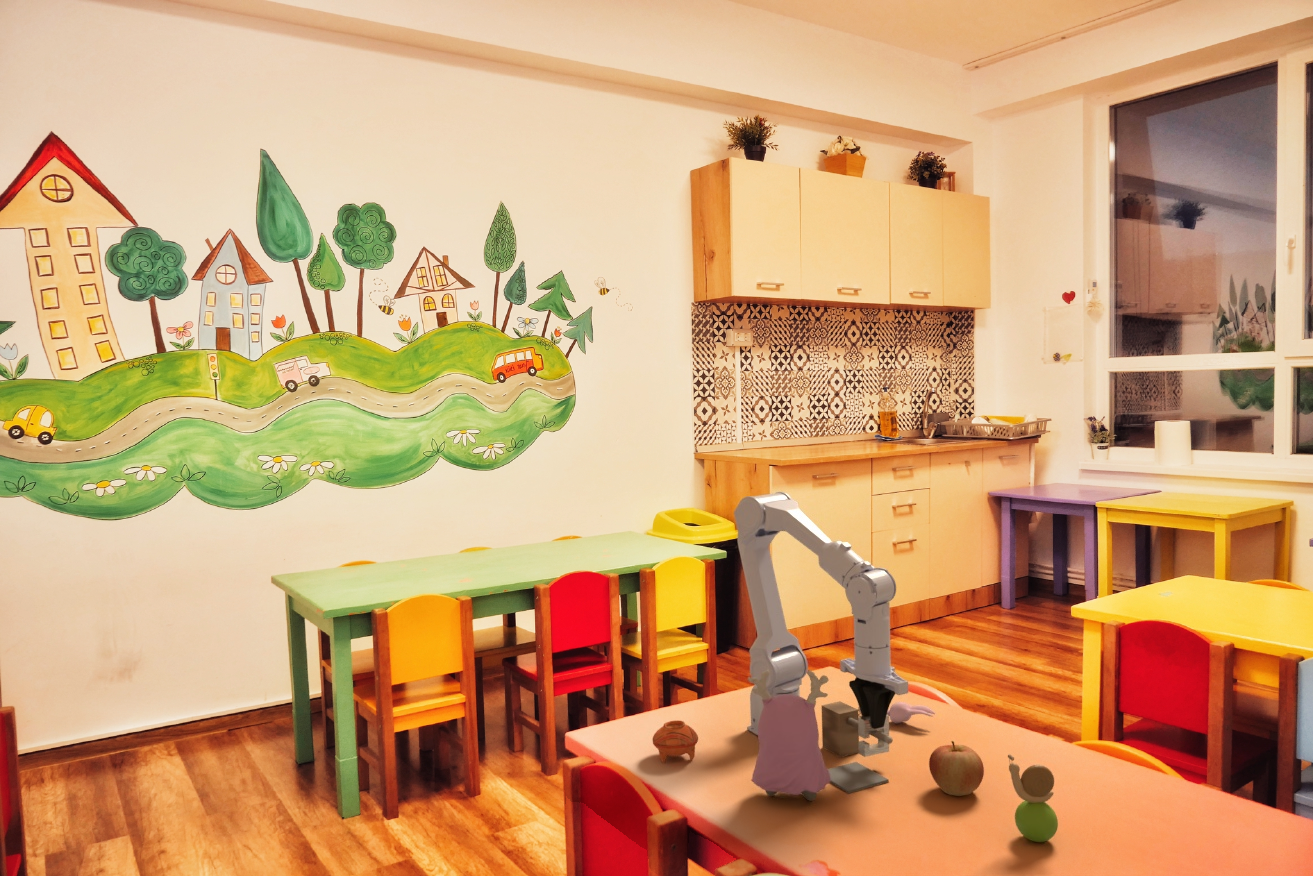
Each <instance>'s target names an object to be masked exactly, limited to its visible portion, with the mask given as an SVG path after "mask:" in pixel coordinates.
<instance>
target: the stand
mask: <svg viewBox="0 0 1313 876" xmlns="http://www.w3.org/2000/svg"><path fill="white" fill-rule="evenodd" d="M858 717H859V711H858V708H857V707H856V708H855V707H853V706H851V705H849V704H847V703H844V702H842V701H835V702H831V703H826V704H822V705H821V734H822V737H821V739H822V749H825V750H826V749H827V750H826V751H828V752H830V753H831V754H833V755H835V756H837V757H839V758H844V757H848V756H852V755H855V754H859V751H858V742H859V741H860V736H858ZM870 736H871V737H874V738H876V739H877V740H878V739H880V740H882V741H884V742H886V743H888V744H889V745H890V744H892V743H893V737H892V736H890V734H889V735H886V734H884V733H882V732H880V731H878V730H875V731H870Z"/></svg>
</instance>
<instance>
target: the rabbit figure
mask: <svg viewBox="0 0 1313 876" xmlns="http://www.w3.org/2000/svg"><path fill="white" fill-rule="evenodd" d="M857 709H858V713H859V714H860V715H861V716H862V714H861V711H860V707H859V706H858V707H857ZM935 714H936V712H935V711H934V710H933V709H931V708H930V707H928V706H926V705H922V704H918V705H917V704H916V705H911V704H910V703H906V702H904V701H897V702H894V703H892V704H891V706H890V707H889V708H888V711H887V715H889V721H891V722H892V723H894V724H896V725H897V724H902V723H903V722H904V723H905V722H908V721H909V720H910V719H911V718H912V716H913V715H924V716H928V717H934V715H935Z"/></svg>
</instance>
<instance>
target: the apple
mask: <svg viewBox="0 0 1313 876" xmlns="http://www.w3.org/2000/svg"><path fill="white" fill-rule="evenodd" d="M982 760H983V759H982V758H981V756H979V754H978V753H977V752H976V751H975V750H974V749H973V748H971V747H969V746H967V745H963V744H955V741H953V740H951V744H946V745H940V746H938V747H937V748H935V749H934V750H933V751H932V753H931V754H930V757H929V760H928V768H929V771H930V774H931V777H932V779H933V780H934V782H935V783H936V786H938V787H939V788H940V789H941V791H943V792H944V793H945V794H948V795H950V796H956V797H960V796H967V795H970V794H972V793H973V792H975V791H976V790H978V788H979V787H980V785H981V783H982V782H983V778H984V775H985V767H984V764H983V763H984V762H983V761H982Z"/></svg>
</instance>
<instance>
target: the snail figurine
mask: <svg viewBox="0 0 1313 876" xmlns="http://www.w3.org/2000/svg"><path fill="white" fill-rule="evenodd" d="M1007 758H1008V759H1009V765H1008V771H1009V773H1010V776H1011V782H1012V785H1013V789H1014V791H1015V792H1016V794H1017V796H1018V797H1019V798H1020V799H1021V800H1023V801H1022V802H1021V803H1020V804H1019V805H1017V808H1016V810H1015V814H1014V822H1015V826H1016V828H1017V830H1018V831H1019V832H1020V834H1021V836H1024V837H1025V838H1026V839H1027V840H1029V841H1032V842H1036V843H1044V842H1047V841H1049V840H1051V839H1052V838H1053V837H1055V835H1056V833H1057V831H1058V827H1059V822H1058V816H1057V814H1056V811H1054V808H1052V807H1051V806H1050V805H1049V804H1048V803H1046V802H1047V801H1049V800H1051V798H1052V797H1053V796H1054V791H1052V790H1053V789H1054V786H1055V777H1054V775H1053V772H1052V771H1051V770H1050V769H1049V768H1048V767H1046V766H1045V765H1042V764H1033V765H1030V766H1029V767H1027V768H1026V769H1024V771H1023V772H1022V774H1021V776H1020V770H1021V769H1020V765H1019V764H1017V763H1016V762H1013V761H1014V760H1015V757H1014V756H1013V755H1011V754H1010V753H1009V754H1008V755H1007Z"/></svg>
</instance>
